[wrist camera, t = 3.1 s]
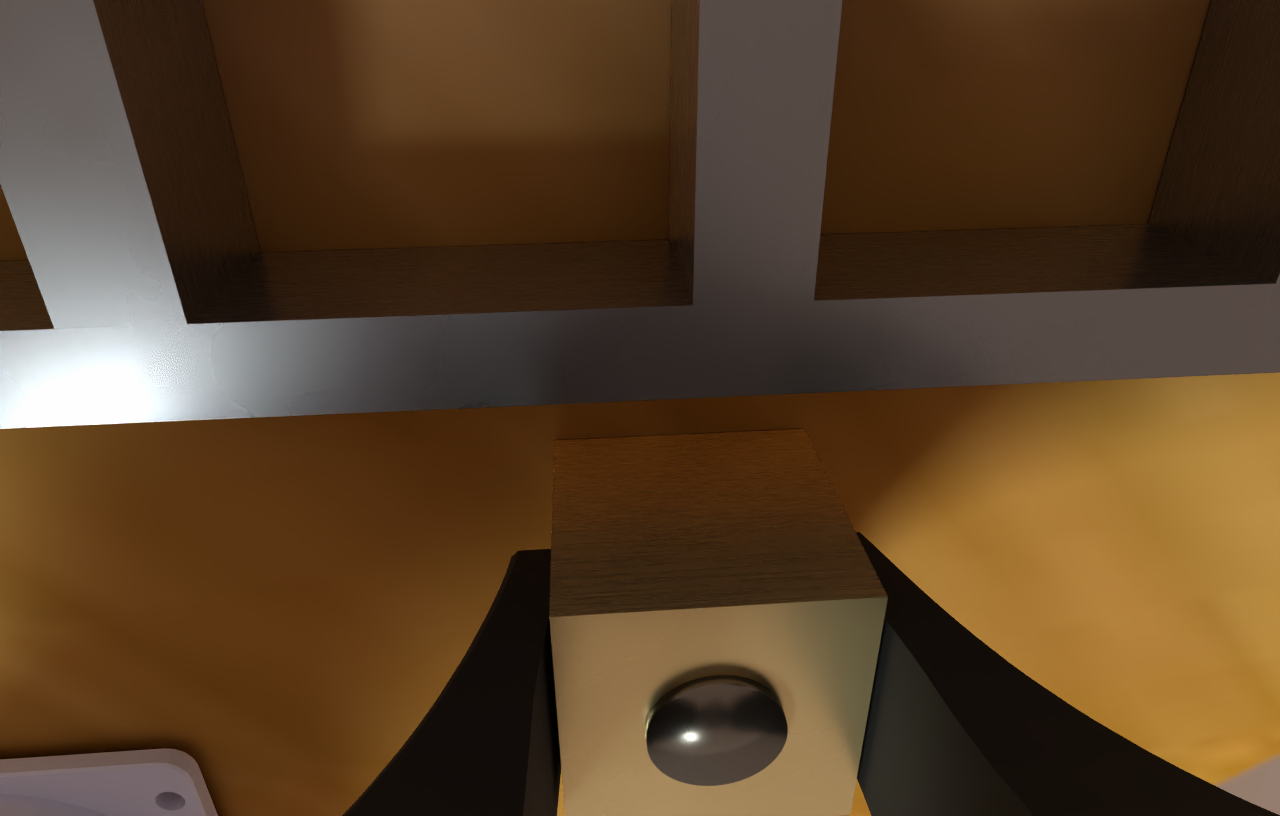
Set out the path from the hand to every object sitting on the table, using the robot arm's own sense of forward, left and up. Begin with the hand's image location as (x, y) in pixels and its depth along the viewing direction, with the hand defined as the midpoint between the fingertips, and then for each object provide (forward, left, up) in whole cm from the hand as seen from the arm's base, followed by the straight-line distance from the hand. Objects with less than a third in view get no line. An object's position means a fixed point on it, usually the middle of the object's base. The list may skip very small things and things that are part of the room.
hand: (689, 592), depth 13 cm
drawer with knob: (0, 0, -1) cm, 1 cm away
